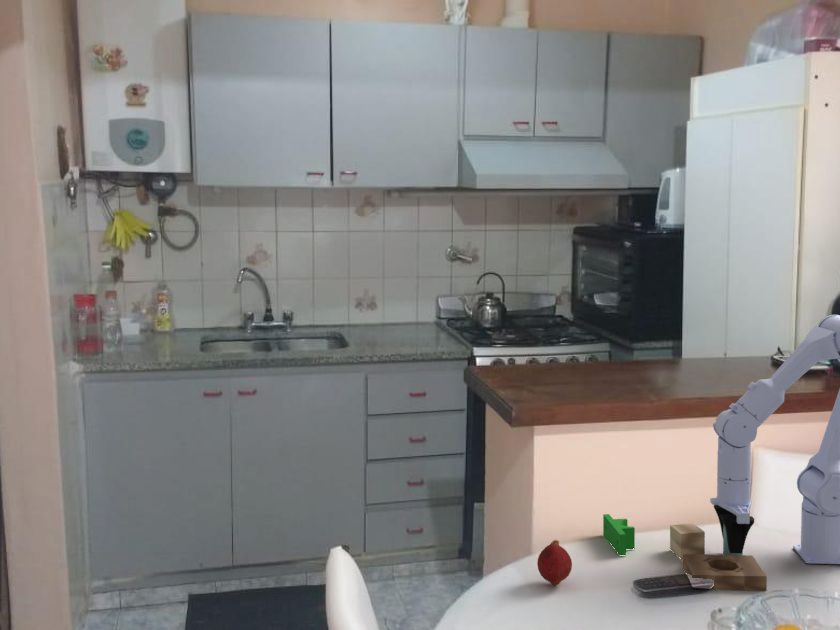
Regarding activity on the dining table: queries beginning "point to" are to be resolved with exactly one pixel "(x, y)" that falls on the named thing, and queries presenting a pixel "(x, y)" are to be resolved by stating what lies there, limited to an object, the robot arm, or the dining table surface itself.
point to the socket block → (727, 571)
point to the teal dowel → (725, 545)
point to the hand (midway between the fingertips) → (732, 548)
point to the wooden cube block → (687, 539)
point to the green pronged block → (618, 534)
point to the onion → (554, 563)
